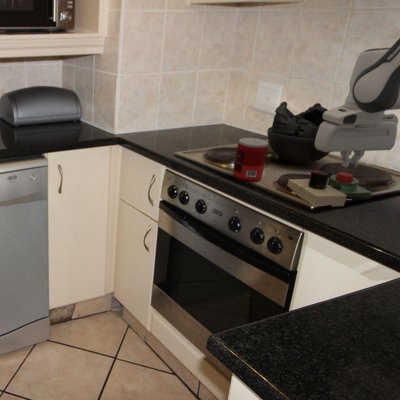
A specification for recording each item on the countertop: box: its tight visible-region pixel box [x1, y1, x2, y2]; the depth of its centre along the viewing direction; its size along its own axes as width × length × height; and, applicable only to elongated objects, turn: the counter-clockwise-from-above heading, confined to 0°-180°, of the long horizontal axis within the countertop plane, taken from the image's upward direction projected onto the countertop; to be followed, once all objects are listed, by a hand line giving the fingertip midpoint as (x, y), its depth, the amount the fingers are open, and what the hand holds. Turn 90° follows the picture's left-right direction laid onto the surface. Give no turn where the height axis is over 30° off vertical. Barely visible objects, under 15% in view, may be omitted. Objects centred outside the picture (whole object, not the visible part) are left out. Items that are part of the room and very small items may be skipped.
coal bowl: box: [266, 101, 331, 165], centre depth 149 cm, size 20×20×19 cm
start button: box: [336, 171, 354, 182], centre depth 127 cm, size 4×4×2 cm
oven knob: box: [308, 169, 330, 190], centre depth 123 cm, size 4×4×4 cm
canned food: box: [232, 137, 269, 183], centre depth 137 cm, size 8×8×11 cm
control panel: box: [286, 178, 347, 207], centre depth 125 cm, size 12×8×3 cm
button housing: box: [327, 174, 372, 201], centre depth 128 cm, size 11×8×4 cm
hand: (348, 166), depth 126 cm, fingers closed
